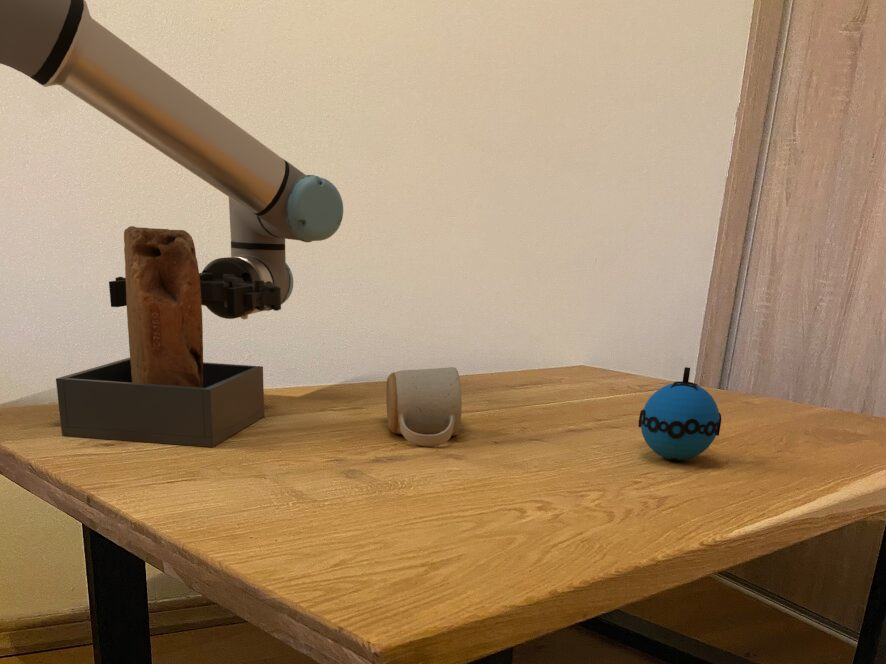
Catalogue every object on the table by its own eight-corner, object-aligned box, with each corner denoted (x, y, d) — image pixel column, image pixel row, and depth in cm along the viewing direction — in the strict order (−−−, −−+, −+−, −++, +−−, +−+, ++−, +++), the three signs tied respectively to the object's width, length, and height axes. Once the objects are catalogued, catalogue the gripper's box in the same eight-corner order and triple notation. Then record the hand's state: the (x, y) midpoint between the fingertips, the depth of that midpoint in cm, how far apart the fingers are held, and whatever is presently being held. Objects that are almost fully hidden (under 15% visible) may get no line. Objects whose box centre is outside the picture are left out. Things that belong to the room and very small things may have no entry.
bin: (61, 435, 98) (55, 378, 96) (134, 406, 115) (130, 357, 112) (212, 447, 97) (210, 389, 95) (264, 416, 113) (263, 366, 111)
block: (132, 408, 109) (118, 224, 101) (197, 407, 111) (188, 228, 104) (140, 427, 99) (125, 226, 92) (211, 425, 102) (203, 230, 95)
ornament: (712, 473, 97) (728, 376, 94) (630, 463, 99) (642, 368, 96) (715, 456, 105) (730, 366, 101) (639, 447, 107) (650, 359, 103)
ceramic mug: (383, 426, 111) (385, 361, 108) (451, 427, 112) (454, 362, 109) (393, 448, 101) (395, 377, 98) (466, 449, 102) (470, 378, 99)
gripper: (328, 322, 123) (281, 340, 103) (147, 311, 125) (68, 325, 106) (328, 262, 120) (279, 268, 100) (143, 251, 122) (61, 255, 103)
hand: (171, 298), depth 103 cm, fingers open, 13 cm apart
